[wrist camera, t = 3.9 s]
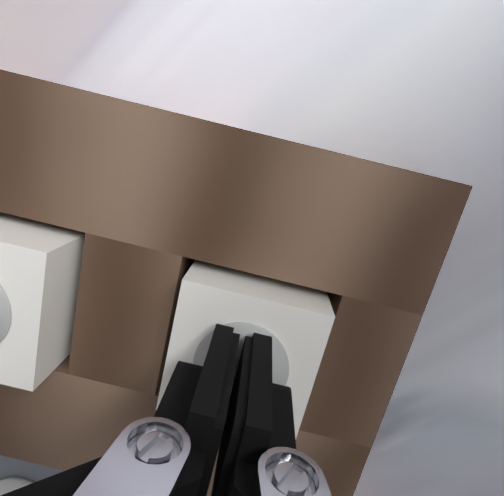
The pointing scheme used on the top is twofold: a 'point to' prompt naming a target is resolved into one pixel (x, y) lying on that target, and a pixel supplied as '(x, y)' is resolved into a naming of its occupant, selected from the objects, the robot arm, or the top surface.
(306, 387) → the button
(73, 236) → the middle button
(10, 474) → the pattern card
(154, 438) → the robot arm
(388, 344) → the button board
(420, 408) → the top surface
